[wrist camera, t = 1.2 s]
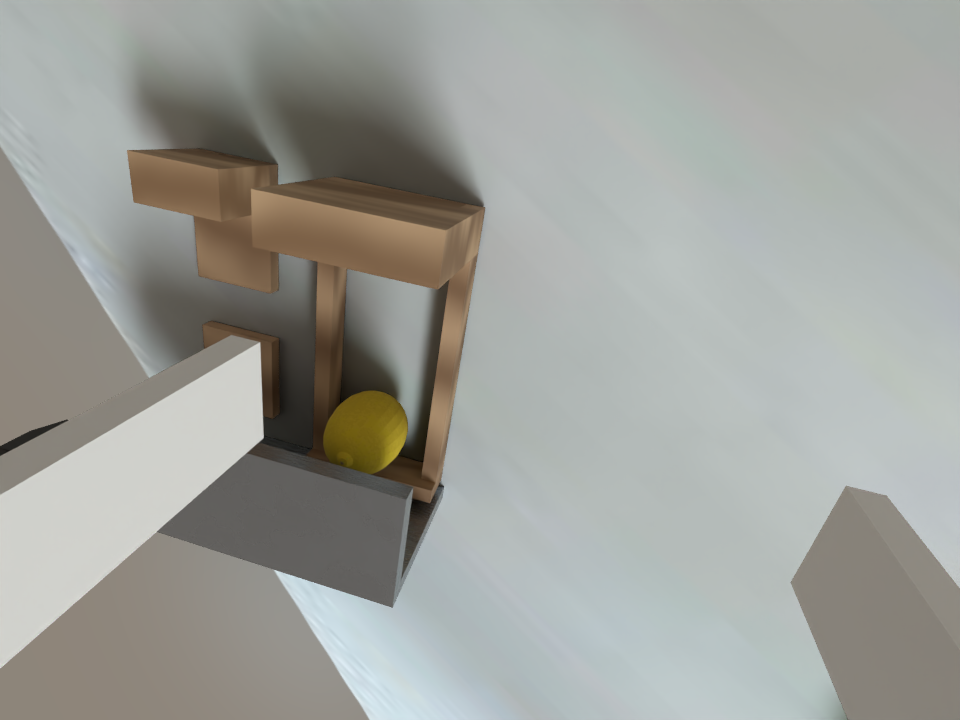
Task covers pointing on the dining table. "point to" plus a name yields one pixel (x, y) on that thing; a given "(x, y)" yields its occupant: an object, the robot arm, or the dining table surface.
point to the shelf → (310, 520)
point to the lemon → (366, 432)
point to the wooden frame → (383, 252)
